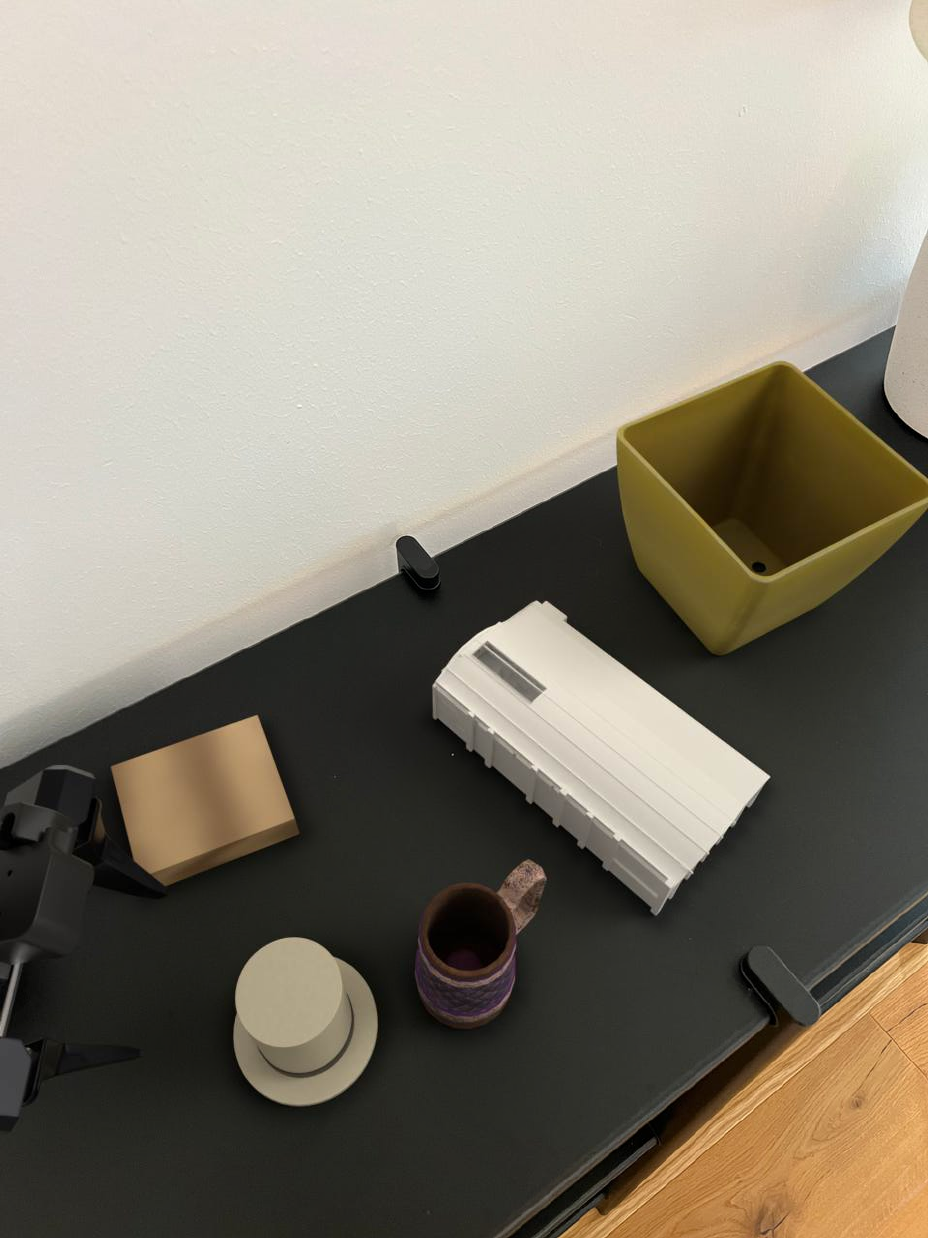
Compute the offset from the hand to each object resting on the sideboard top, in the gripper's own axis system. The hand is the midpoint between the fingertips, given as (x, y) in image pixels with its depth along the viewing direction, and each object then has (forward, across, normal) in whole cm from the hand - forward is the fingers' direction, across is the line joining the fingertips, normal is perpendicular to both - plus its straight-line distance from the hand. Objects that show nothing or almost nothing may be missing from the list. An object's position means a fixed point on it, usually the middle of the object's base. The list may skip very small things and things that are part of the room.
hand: (151, 971), depth 56 cm
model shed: (+31, +21, -12) cm, 39 cm away
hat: (+15, 0, +4) cm, 15 cm away
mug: (+24, +4, -5) cm, 24 cm away
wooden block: (+8, +16, +10) cm, 21 cm away
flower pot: (+40, +39, -23) cm, 60 cm away
